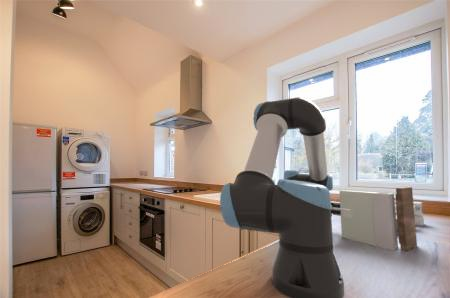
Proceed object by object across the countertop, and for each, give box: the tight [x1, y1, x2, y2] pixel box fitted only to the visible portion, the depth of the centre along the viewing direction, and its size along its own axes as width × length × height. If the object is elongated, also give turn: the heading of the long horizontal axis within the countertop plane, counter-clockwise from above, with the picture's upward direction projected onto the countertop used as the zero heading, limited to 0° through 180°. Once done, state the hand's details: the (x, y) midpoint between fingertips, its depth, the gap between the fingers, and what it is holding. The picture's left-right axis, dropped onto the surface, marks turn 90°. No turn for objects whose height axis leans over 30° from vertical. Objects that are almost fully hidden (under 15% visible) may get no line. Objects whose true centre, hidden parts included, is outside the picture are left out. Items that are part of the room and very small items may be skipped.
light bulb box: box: [395, 200, 425, 227], centre depth 110 cm, size 11×7×11 cm, turn 46°
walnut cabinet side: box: [394, 186, 418, 252], centre depth 77 cm, size 6×11×20 cm, turn 125°
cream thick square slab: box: [339, 189, 399, 251], centre depth 81 cm, size 17×5×18 cm, turn 35°
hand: (359, 211), depth 83 cm, fingers open, 13 cm apart
